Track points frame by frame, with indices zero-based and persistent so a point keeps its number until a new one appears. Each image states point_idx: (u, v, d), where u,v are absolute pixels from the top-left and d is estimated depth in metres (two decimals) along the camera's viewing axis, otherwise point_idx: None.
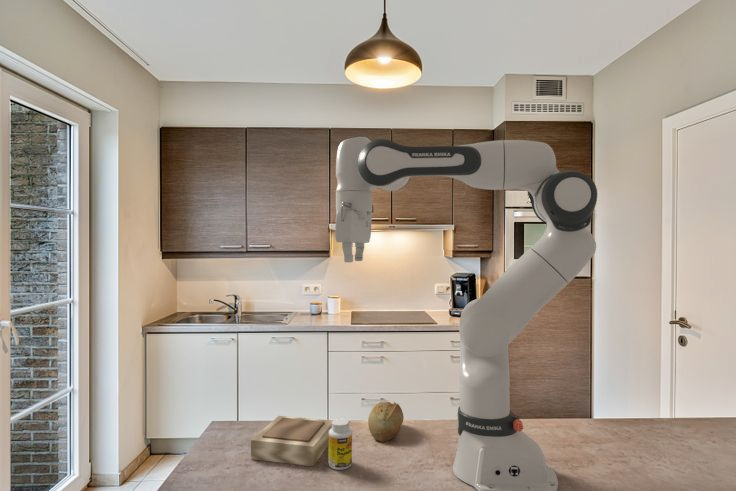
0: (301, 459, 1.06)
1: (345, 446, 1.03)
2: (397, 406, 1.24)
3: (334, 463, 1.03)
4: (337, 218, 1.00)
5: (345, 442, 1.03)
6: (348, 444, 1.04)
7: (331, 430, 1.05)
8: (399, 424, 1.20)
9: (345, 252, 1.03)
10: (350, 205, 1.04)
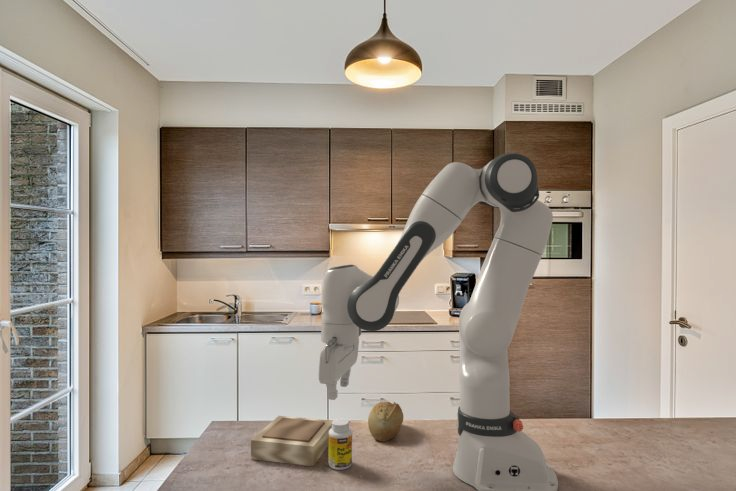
0: (301, 459, 1.06)
1: (345, 446, 1.03)
2: (397, 406, 1.24)
3: (334, 463, 1.03)
4: (321, 359, 0.97)
5: (345, 442, 1.03)
6: (348, 444, 1.04)
7: (331, 430, 1.05)
8: (399, 424, 1.20)
9: (329, 389, 1.00)
10: (335, 340, 1.01)
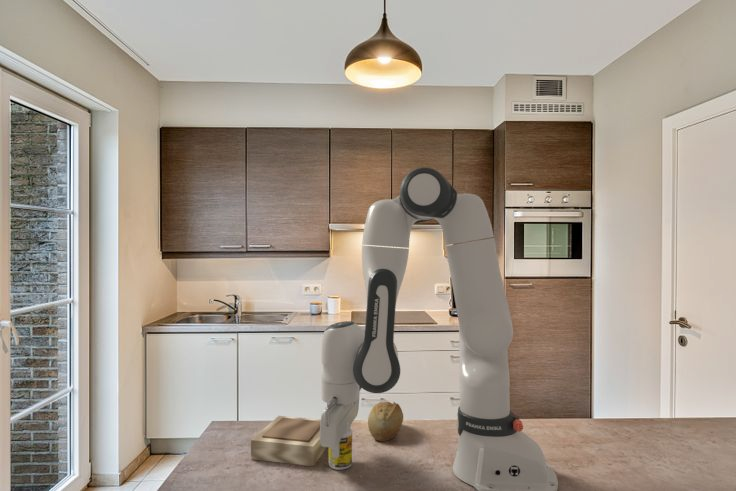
0: (301, 459, 1.06)
1: (345, 446, 1.03)
2: (397, 406, 1.24)
3: (334, 462, 1.03)
4: (322, 422, 0.97)
5: (345, 442, 1.03)
6: (348, 444, 1.04)
7: None
8: (399, 424, 1.20)
9: (332, 448, 1.01)
10: (336, 401, 1.01)
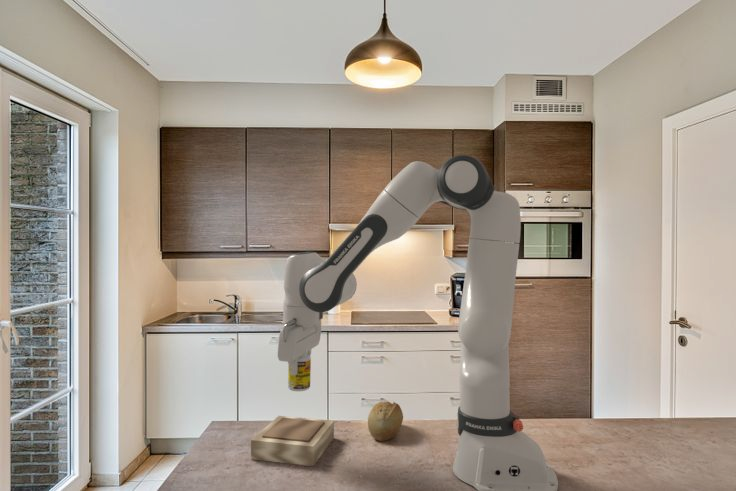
0: (301, 459, 1.06)
1: (303, 370, 1.11)
2: (397, 406, 1.24)
3: (293, 384, 1.11)
4: (280, 338, 1.04)
5: (304, 365, 1.11)
6: (306, 368, 1.11)
7: None
8: (398, 424, 1.20)
9: (291, 366, 1.09)
10: (295, 321, 1.08)
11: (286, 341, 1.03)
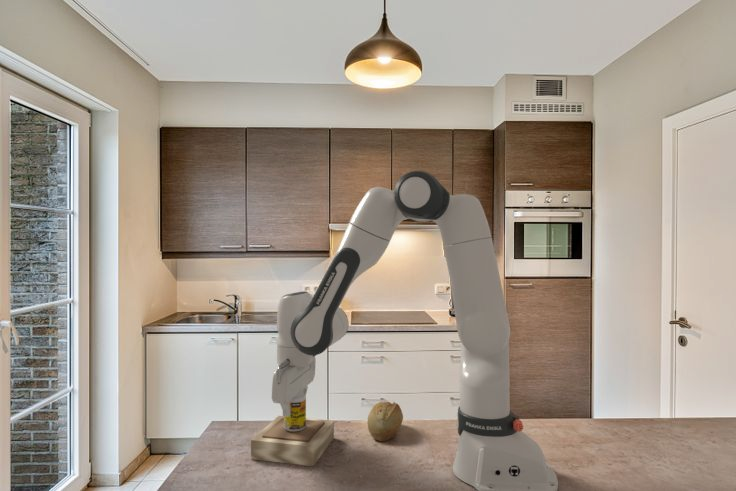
0: (301, 459, 1.06)
1: (298, 410, 1.12)
2: (396, 406, 1.24)
3: (288, 425, 1.12)
4: (273, 380, 1.06)
5: (299, 406, 1.12)
6: (301, 408, 1.13)
7: None
8: (398, 424, 1.20)
9: (283, 408, 1.09)
10: (288, 362, 1.10)
11: (279, 383, 1.05)
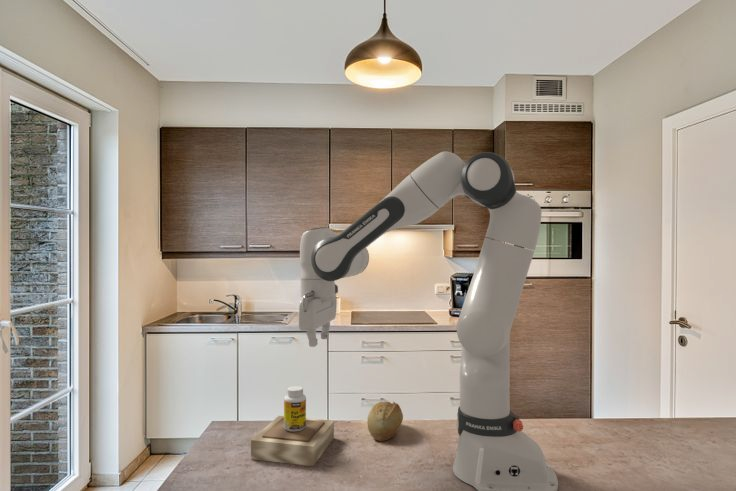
0: (301, 459, 1.06)
1: (298, 410, 1.12)
2: (396, 406, 1.24)
3: (288, 425, 1.12)
4: (300, 309, 1.09)
5: (299, 406, 1.12)
6: (301, 408, 1.13)
7: (286, 396, 1.14)
8: (398, 424, 1.20)
9: (309, 337, 1.12)
10: (313, 293, 1.13)
11: (306, 311, 1.08)
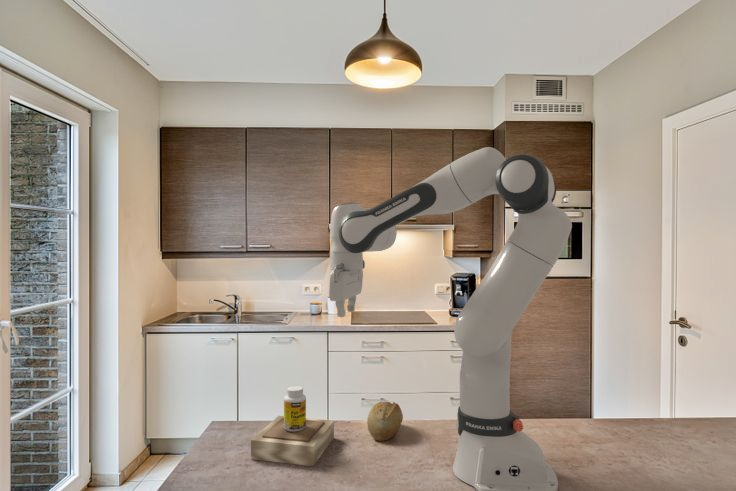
0: (301, 459, 1.06)
1: (298, 410, 1.12)
2: (396, 406, 1.24)
3: (288, 425, 1.12)
4: (331, 279, 1.13)
5: (299, 406, 1.12)
6: (301, 408, 1.13)
7: (286, 396, 1.14)
8: (398, 424, 1.20)
9: (338, 308, 1.16)
10: (343, 266, 1.17)
11: (337, 282, 1.12)
